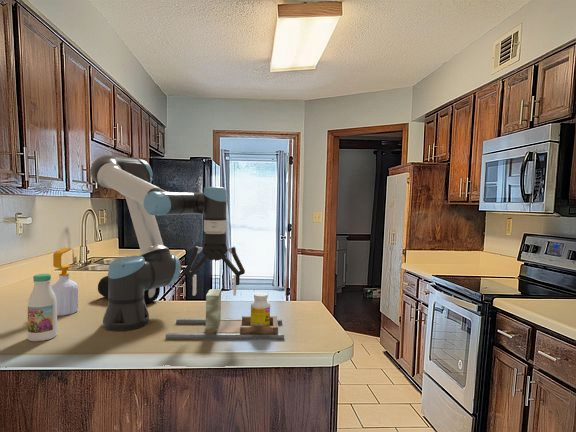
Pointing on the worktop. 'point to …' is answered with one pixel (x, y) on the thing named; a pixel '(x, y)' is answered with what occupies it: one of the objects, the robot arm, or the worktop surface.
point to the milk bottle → (42, 310)
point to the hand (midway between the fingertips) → (214, 294)
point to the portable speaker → (148, 294)
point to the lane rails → (219, 335)
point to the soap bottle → (64, 287)
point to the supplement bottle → (260, 310)
